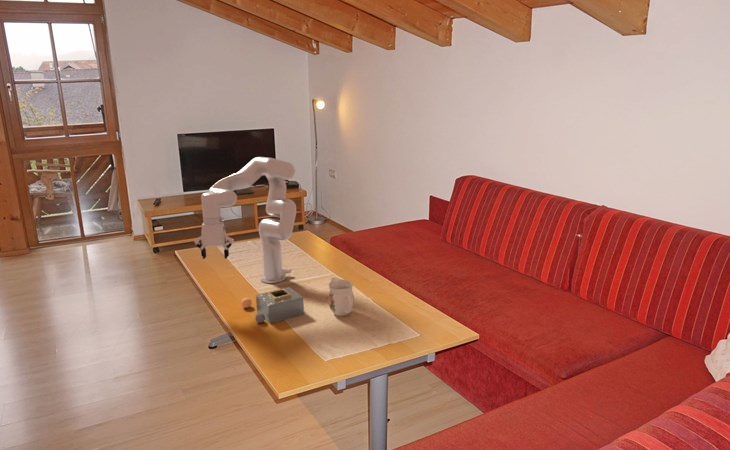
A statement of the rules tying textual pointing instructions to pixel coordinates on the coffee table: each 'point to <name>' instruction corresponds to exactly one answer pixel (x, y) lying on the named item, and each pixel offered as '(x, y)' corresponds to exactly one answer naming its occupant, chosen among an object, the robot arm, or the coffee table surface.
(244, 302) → the bead
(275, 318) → the grey box with opening
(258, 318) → the bead
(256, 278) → the coffee table surface
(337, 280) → the pitcher
